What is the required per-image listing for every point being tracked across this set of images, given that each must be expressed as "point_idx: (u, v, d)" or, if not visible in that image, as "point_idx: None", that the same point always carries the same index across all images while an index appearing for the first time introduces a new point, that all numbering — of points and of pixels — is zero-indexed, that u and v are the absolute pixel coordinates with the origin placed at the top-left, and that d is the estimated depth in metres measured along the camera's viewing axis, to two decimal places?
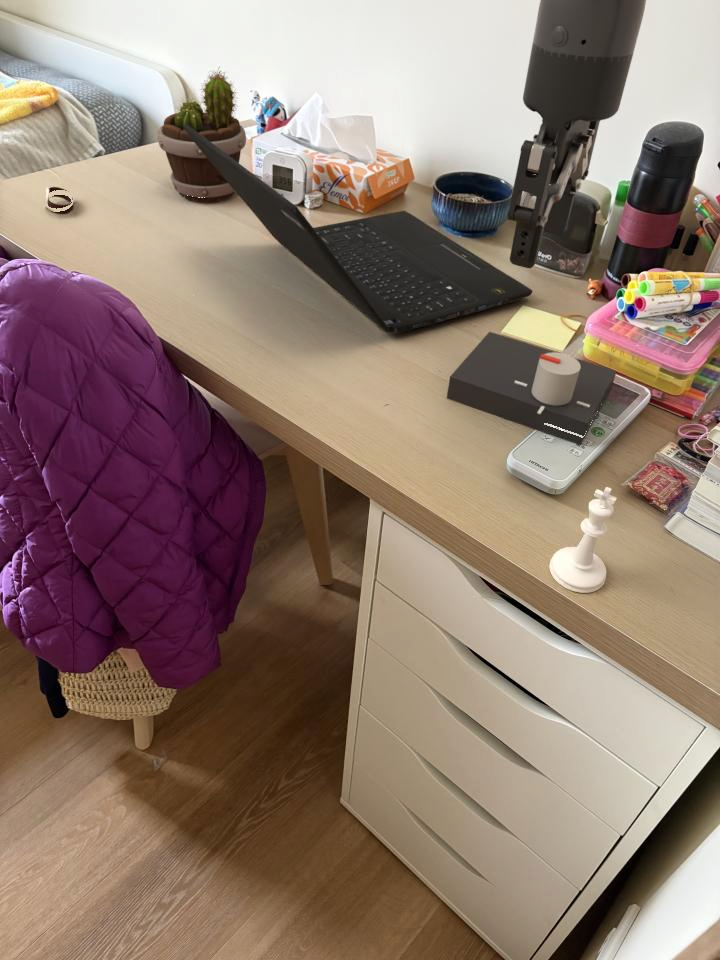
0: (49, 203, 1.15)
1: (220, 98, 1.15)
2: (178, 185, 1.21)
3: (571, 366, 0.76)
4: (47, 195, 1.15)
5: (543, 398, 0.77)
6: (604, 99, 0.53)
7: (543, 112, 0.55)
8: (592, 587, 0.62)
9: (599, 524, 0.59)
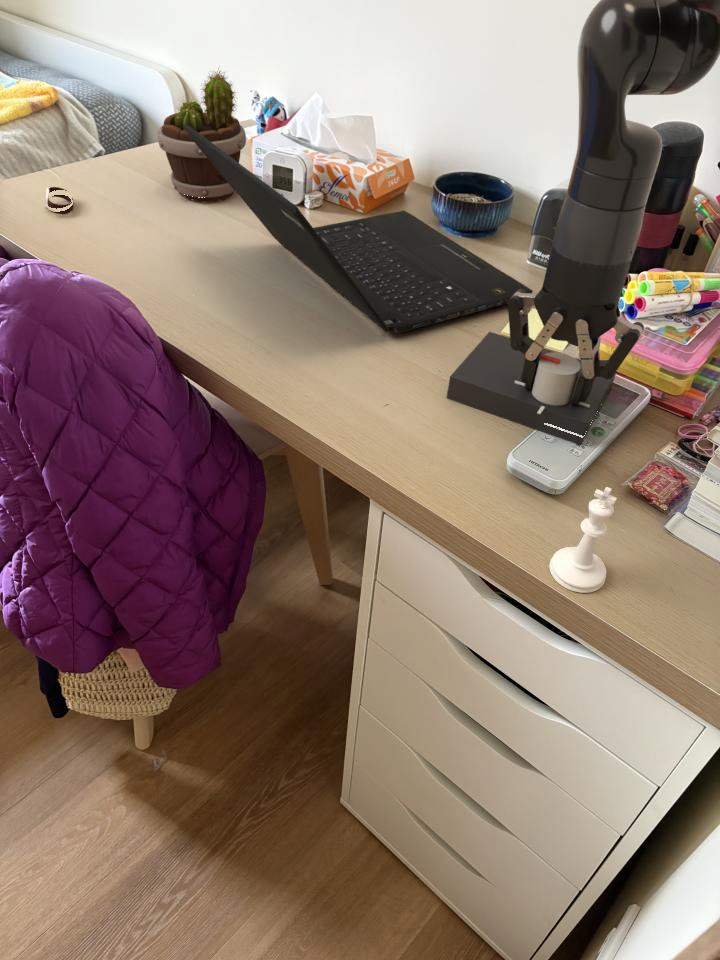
0: (49, 203, 1.15)
1: (220, 98, 1.15)
2: (178, 185, 1.21)
3: (571, 366, 0.76)
4: (47, 195, 1.15)
5: (543, 398, 0.77)
6: (553, 281, 0.68)
7: None
8: (592, 587, 0.62)
9: (599, 524, 0.59)
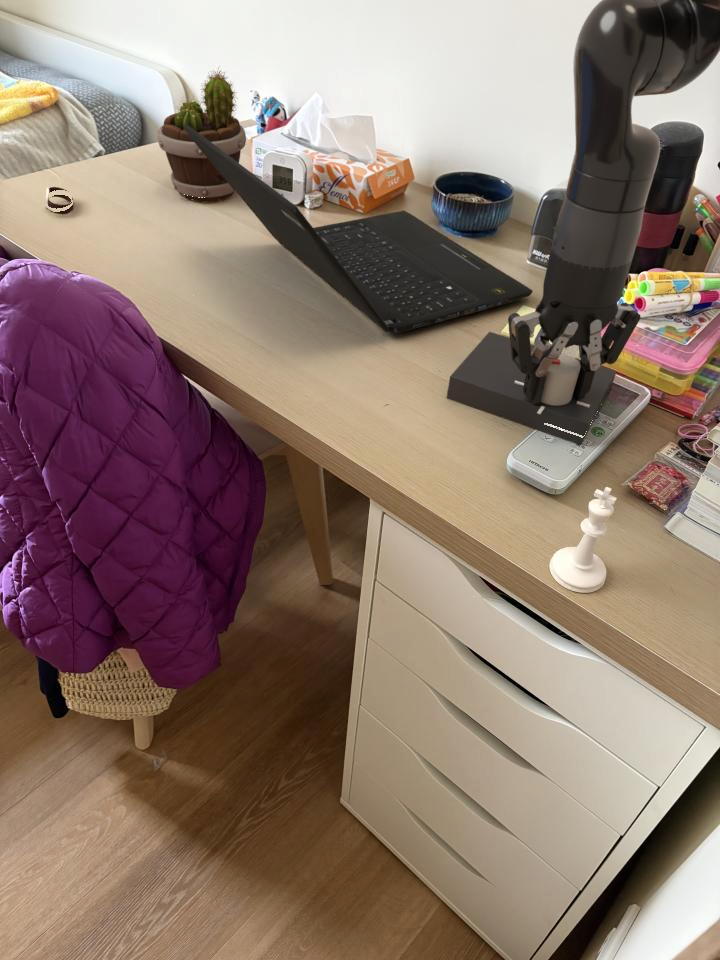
0: (49, 203, 1.15)
1: (220, 98, 1.15)
2: (178, 185, 1.21)
3: (571, 364, 0.76)
4: (47, 195, 1.15)
5: (550, 400, 0.77)
6: (578, 294, 0.67)
7: (543, 288, 0.70)
8: (592, 587, 0.62)
9: (599, 524, 0.59)
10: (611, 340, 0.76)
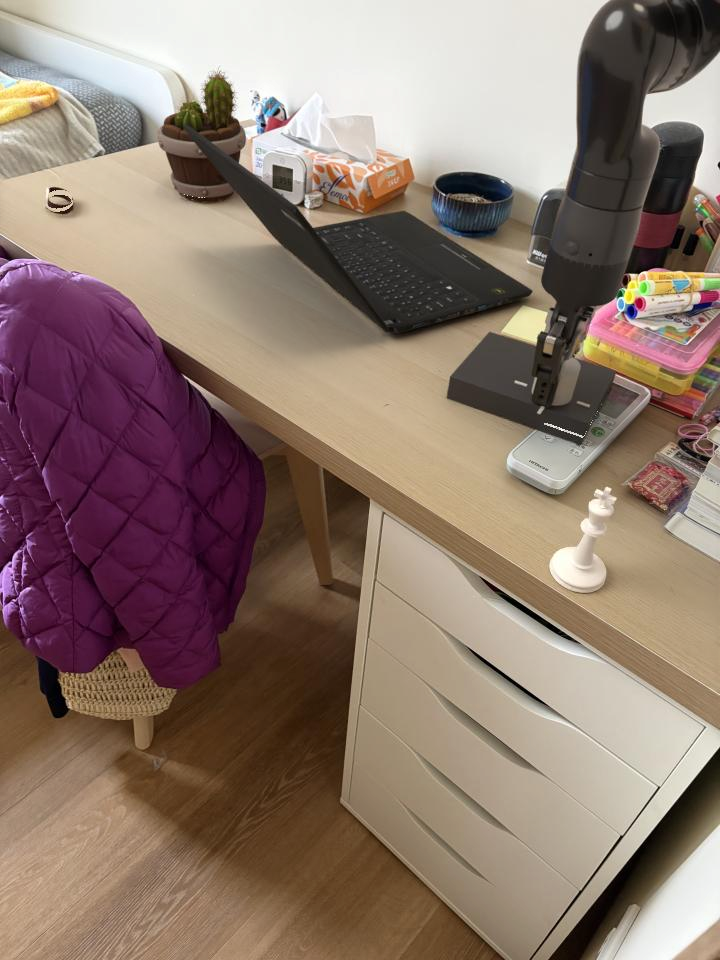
0: (49, 203, 1.15)
1: (220, 98, 1.15)
2: (178, 185, 1.21)
3: None
4: (47, 195, 1.15)
5: (570, 397, 0.78)
6: (606, 292, 0.67)
7: (557, 298, 0.68)
8: (592, 587, 0.62)
9: (599, 524, 0.59)
10: None
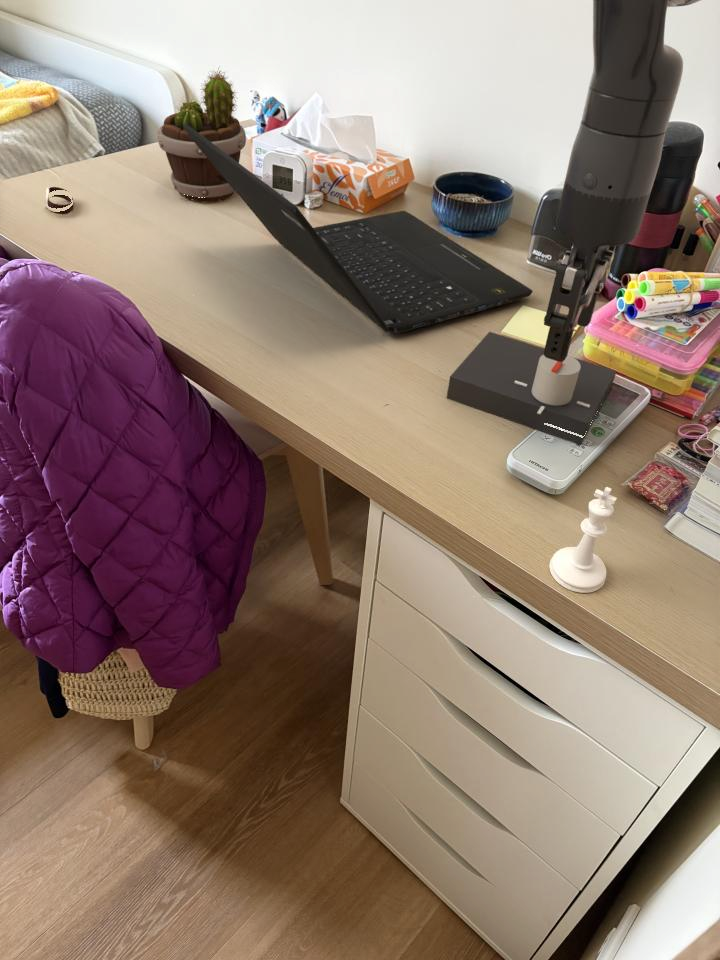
0: (49, 203, 1.15)
1: (220, 98, 1.15)
2: (178, 185, 1.21)
3: None
4: (47, 195, 1.15)
5: (570, 397, 0.78)
6: (627, 230, 0.63)
7: (574, 238, 0.64)
8: (592, 587, 0.62)
9: (599, 524, 0.59)
10: None
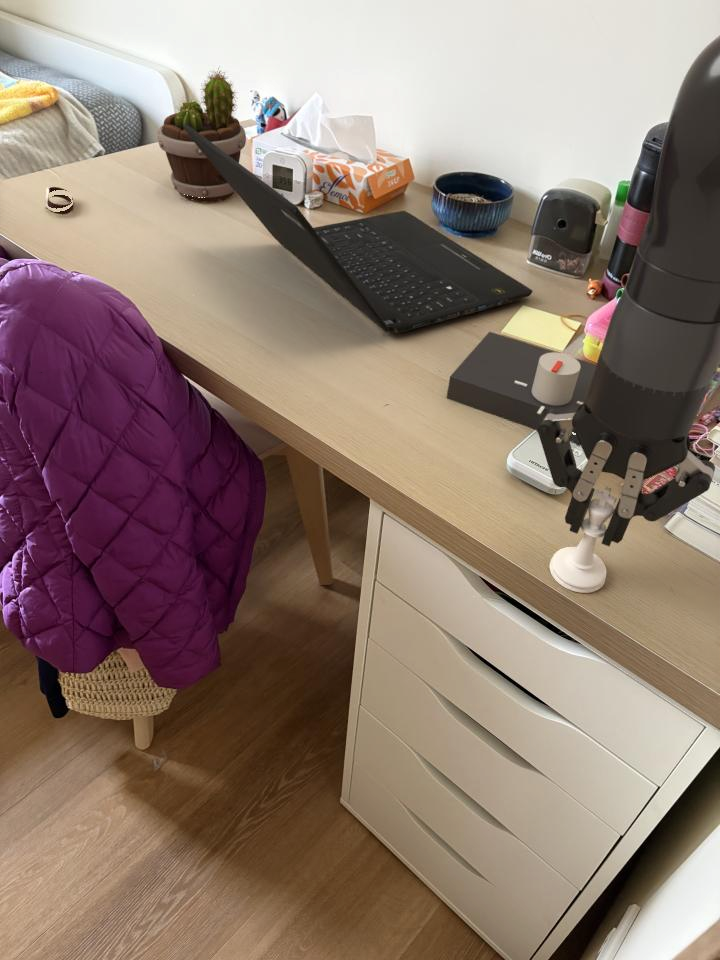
0: (49, 203, 1.15)
1: (220, 98, 1.15)
2: (178, 185, 1.21)
3: (562, 357, 0.77)
4: (47, 195, 1.15)
5: (570, 397, 0.78)
6: (602, 405, 0.50)
7: None
8: (592, 587, 0.62)
9: (599, 524, 0.59)
10: None
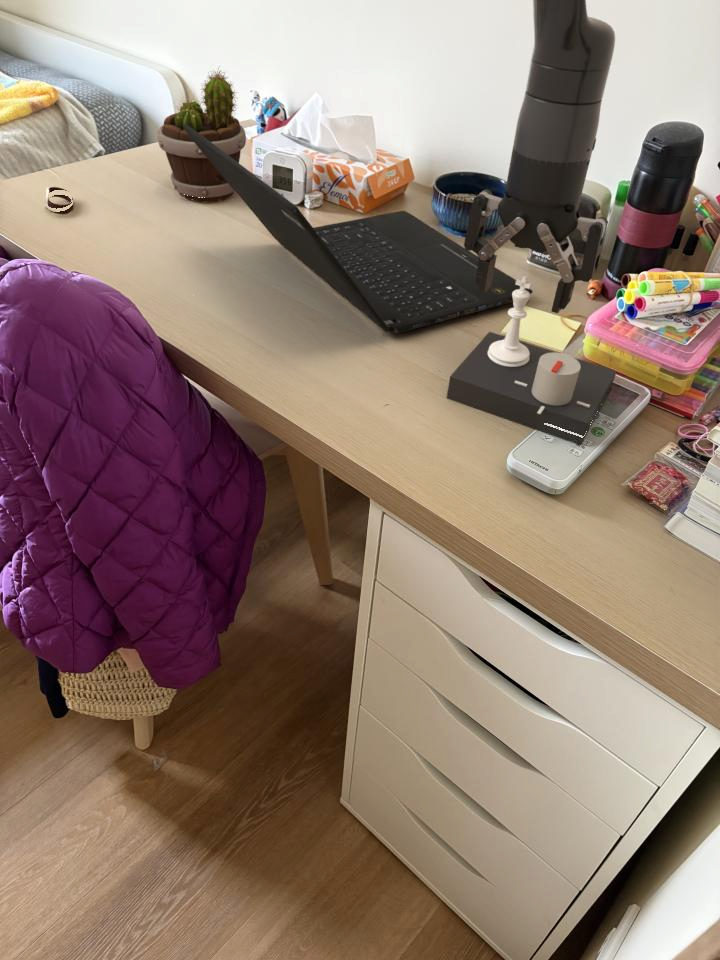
0: (49, 203, 1.15)
1: (220, 98, 1.15)
2: (178, 185, 1.21)
3: (562, 357, 0.77)
4: (47, 195, 1.15)
5: (570, 397, 0.78)
6: (514, 183, 0.70)
7: None
8: (518, 362, 0.83)
9: (520, 307, 0.80)
10: (597, 258, 0.74)
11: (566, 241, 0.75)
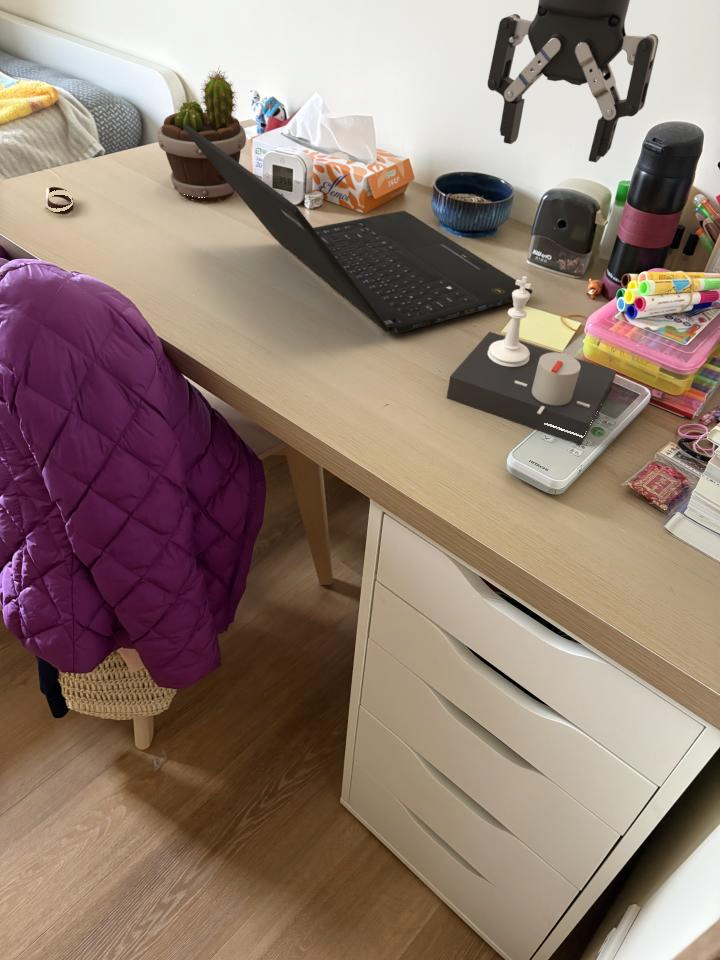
0: (49, 203, 1.15)
1: (220, 98, 1.15)
2: (178, 185, 1.21)
3: (562, 357, 0.77)
4: (47, 195, 1.15)
5: (570, 397, 0.78)
6: None
7: None
8: (518, 362, 0.83)
9: (520, 307, 0.80)
10: (644, 89, 0.63)
11: (607, 72, 0.64)
